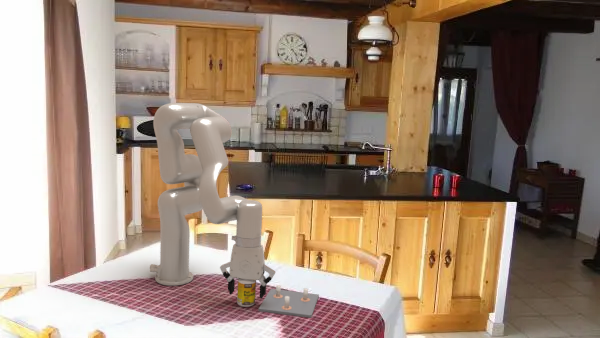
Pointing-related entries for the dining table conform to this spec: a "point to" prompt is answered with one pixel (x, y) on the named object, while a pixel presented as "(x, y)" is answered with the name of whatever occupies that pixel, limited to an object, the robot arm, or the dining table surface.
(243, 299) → the supplement bottle
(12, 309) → the dining table surface
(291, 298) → the peg board
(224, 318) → the dining table surface
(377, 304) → the dining table surface
